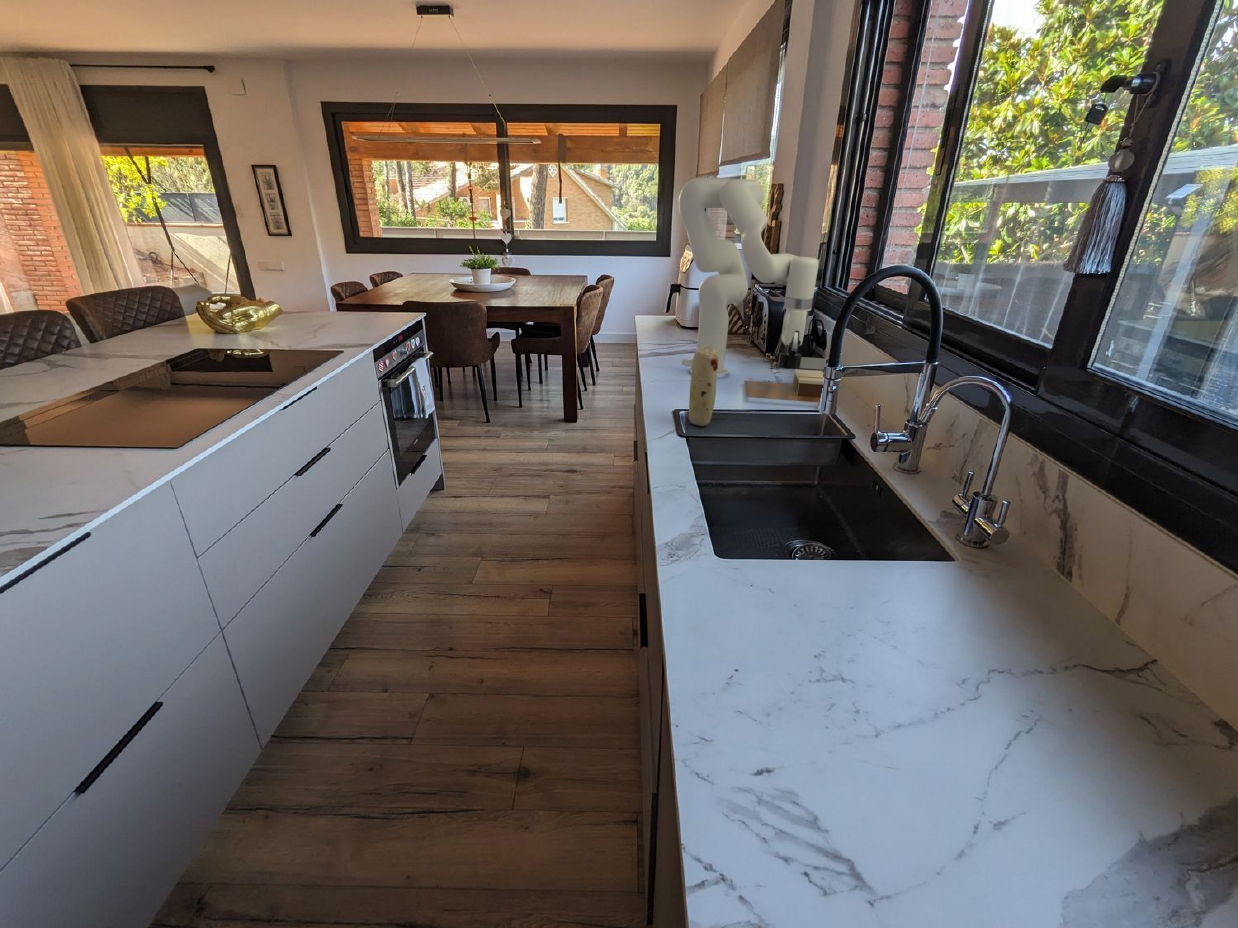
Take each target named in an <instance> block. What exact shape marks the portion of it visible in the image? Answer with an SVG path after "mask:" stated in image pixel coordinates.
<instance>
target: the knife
mask: <svg viewBox="0 0 1238 928" xmlns="http://www.w3.org/2000/svg"><path fill="white" fill-rule="evenodd" d="M785 355H787V353H784V352H779V356H778V363H777V367H778V369H785V368H784V361H785ZM827 359H828V358H820V357H819V358H818V357H805V356H803V357H802V354H801V353H797V359H796V365H795V369H799V370H801V369H805V370H821V371H824V370H823V369H824V367H825V364H826V360H827ZM795 369H794V370H795Z"/></svg>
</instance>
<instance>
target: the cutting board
mask: <svg viewBox="0 0 1238 928" xmlns="http://www.w3.org/2000/svg"><path fill="white" fill-rule="evenodd" d="M743 385H744V389H745V395H746V398H753V399H754V398H755V399H764V400H765V399H766V400H781V401H795V402H807V403H820V397H806V396H797V394H796V391H795V389H794V386H793V383H789V382H788V383H787V382H772V381H761V380H760V381H759V380H743Z"/></svg>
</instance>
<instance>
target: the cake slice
mask: <svg viewBox="0 0 1238 928" xmlns="http://www.w3.org/2000/svg"><path fill="white" fill-rule="evenodd" d="M822 388H823V379H817V378H803V377H799V380H798V385H797V391H796V394H797V396H806V397H820V398H821V393H822Z"/></svg>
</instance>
